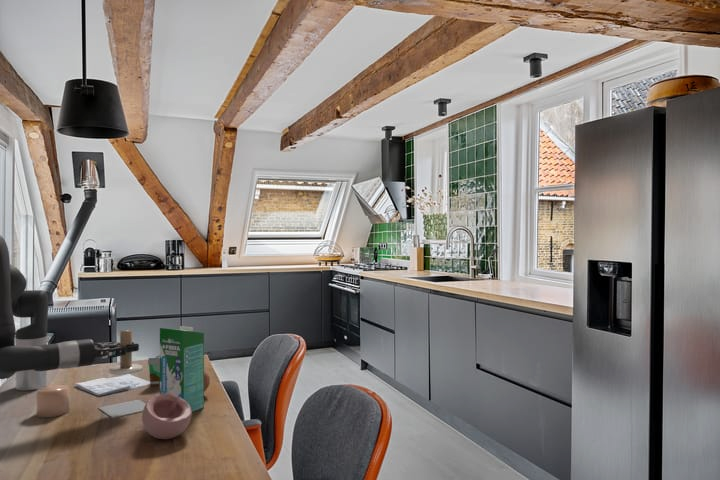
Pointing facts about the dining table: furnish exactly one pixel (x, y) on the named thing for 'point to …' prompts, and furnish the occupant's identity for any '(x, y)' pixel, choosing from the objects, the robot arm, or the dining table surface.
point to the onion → (206, 380)
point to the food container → (154, 371)
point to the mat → (123, 408)
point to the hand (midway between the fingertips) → (135, 346)
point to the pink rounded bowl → (166, 416)
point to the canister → (52, 401)
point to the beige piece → (125, 357)
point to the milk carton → (182, 365)
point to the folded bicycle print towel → (112, 384)
